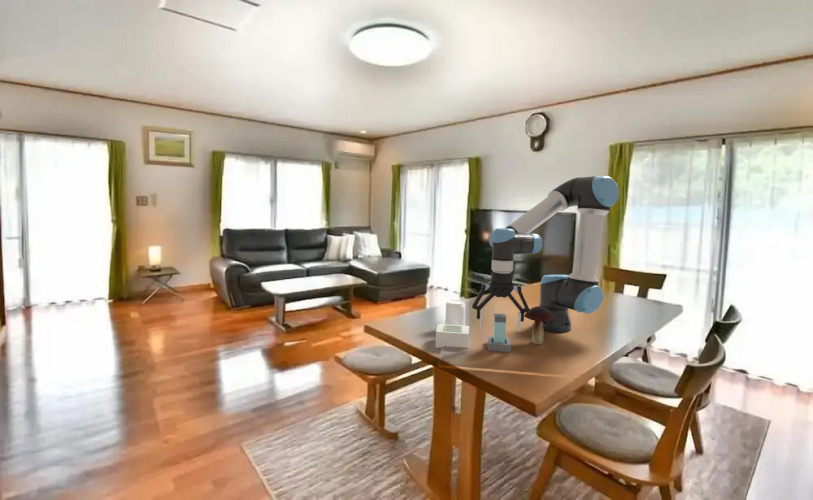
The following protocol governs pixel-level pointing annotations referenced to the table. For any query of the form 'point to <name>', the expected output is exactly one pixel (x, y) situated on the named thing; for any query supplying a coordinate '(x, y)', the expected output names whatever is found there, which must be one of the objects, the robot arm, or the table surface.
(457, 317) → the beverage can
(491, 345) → the holster
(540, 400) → the table surface
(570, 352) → the table surface
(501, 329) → the light blue tall block
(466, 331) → the port block
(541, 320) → the decorative mushroom
